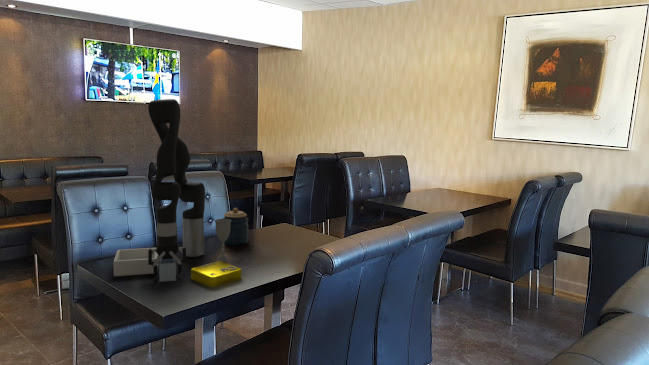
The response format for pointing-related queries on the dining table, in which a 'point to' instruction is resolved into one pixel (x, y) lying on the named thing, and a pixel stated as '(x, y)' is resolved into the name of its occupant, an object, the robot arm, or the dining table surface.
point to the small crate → (167, 270)
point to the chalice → (223, 235)
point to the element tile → (216, 274)
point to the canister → (237, 227)
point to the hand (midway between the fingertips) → (167, 273)
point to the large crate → (133, 262)
